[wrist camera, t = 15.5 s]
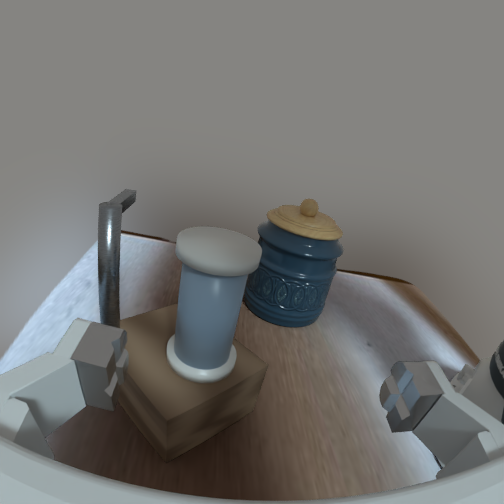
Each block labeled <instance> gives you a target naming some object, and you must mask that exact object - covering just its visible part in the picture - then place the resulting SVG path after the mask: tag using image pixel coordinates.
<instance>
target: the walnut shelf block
mask: <svg viewBox="0 0 504 504" xmlns="http://www.w3.org/2000/svg"><path fill="white" fill-rule="evenodd" d="M177 308H178V303H176V304H173V305H170V306H166V307H163V308H160V309H156V310H153V311H150V312H146V313H143V314H140V315H136V316H133V317H129V318H126V319H123V320H120V329H124V330H126V332H127V343H126V346H125V349H126V350H127V351H128V357H129V361H128V370H127V375H126V378H125V381H124V383H123V384H121V385H119V391H120V395H119V398H118V402H119V403H120V405H121V406H122V408H123V409H124V410H125V412H126V413H127V414H128V416H129V417H130V418H131V420H132V421H133V422H134V424H135V425H136V426H137V428H138V429H139V430H140V432H141V433H142V434H143V435H144V437H145V438H146V439H147V440H148V442H149V443H150V444H151V445H152V447H153V448H154V449H155V450H156V451H157V453H158V454H159V455H160V456H161V457H162V458H163V460H164V461H165V462H166V463H167V462H169V461H170V460H172V459H174V458H176V457H178V456H180V455H181V454H183V453H185V452H187V451H189V450H190V449H192V448H194V447H196V446H197V445H199V444H201V443H202V442H204V441H206V440H207V439H209V438H211V437H212V436H214V435H216V434H217V433H219V432H221V431H222V430H224V429H226V428H227V427H229V426H230V425H232V424H233V423H235V422H237V421H238V420H240V419H241V418H243V417H244V416H246V415H247V414H249V413H250V412H252V411H253V408H254V406H255V403H256V400H257V397H258V394H259V391H260V389H261V386H262V383H263V380H264V377H265V374H266V371H267V368H268V364H266V363H265V362H264V361H262V360H261V359H260V358H259V357H257V356H256V355H255V354H253V353H252V352H251V351H250V350H248V349H247V348H246V347H244V346H243V345H242V344H241V343H239V342H238V341H237V340H236V339H234V338H233V343H232V344H233V345H234V347H235V349H236V355H237V356H236V361H235V365H234V368H233V371H232V372H231V373H230V375H229V376H227V377H226V378H224V379H222V380H220V381H217V382H213V383H197V382H192V381H189V380H187V379H184V378H182V377H181V376H179V375H178V374H176V373H175V372H174V371H173V370H172V369H171V368H170V366H169V364H168V362H167V358H166V353H167V343H168V341H169V339H170V338H171V337H172V336H173V335H174V334H175V329H176V318H177Z"/></svg>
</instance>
